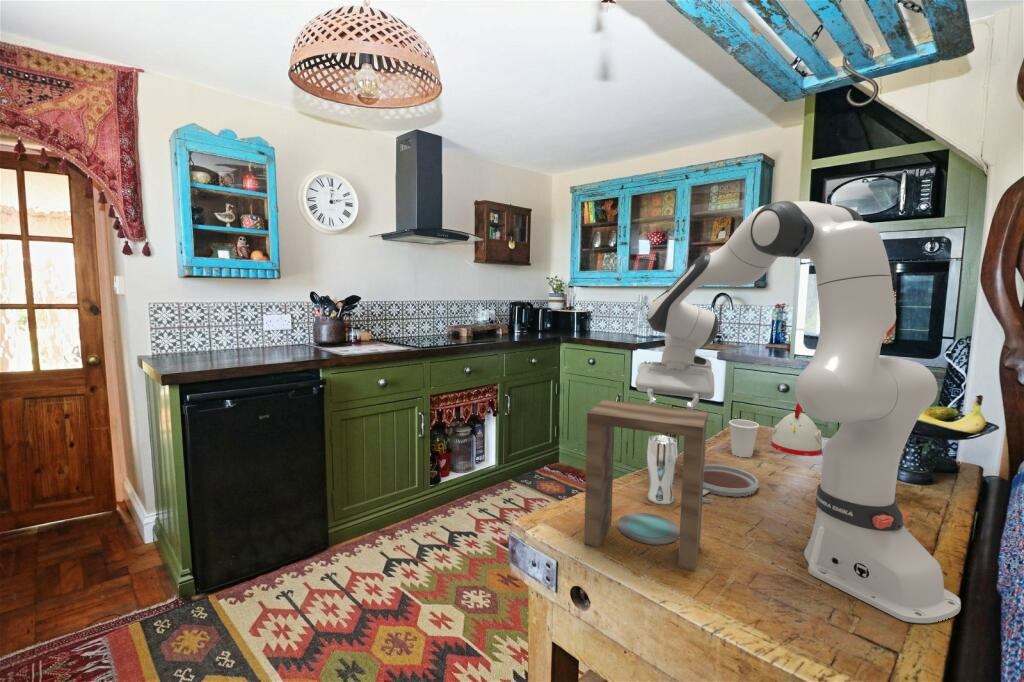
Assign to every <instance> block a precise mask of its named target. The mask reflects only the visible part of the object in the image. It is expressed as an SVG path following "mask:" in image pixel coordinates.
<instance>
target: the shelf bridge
mask: <svg viewBox="0 0 1024 682" xmlns="http://www.w3.org/2000/svg"><path fill="white" fill-rule="evenodd" d="M708 412H709V411H708V410H707V411H706V410H699V409H693V410H691V409H687V408H680V407H671V406H661V405H656V406H654V405H649V404H646V403H644V404H643V403H637V402H635V403H634V402H626V401H616V400H607V399H603V400H601V401H600V402H599V403H598V404H597V405H595V406H594V407H592V409H590V410H589V411H588V412H586V414H587V415H586V445H585V446H586V452H585V454H586V456H585V488H584V489H585V491H584V492H585V493H584V494H585V495H584V497H585V498H584V534H583V535H584V536H583V538H584V539H583V544H584V545H586V544H587V545H586V546H590V547H595V548H600V546H601V545H602V542H603V541H604V539H605V537H606V535H607V533H608V532H609V530H610V528H611V526H612V522H613V521H612V518H613V517H612V515H613V511H612V510H613V482H614V455H615V454H614V451H615V450H614V449H615V448H614V447H615V428H621V429H629V430H634V431H636V430H637V431H643V432H650V433H660V434H666V435H674V436H681V437H683V438H684V439H683V457H682V459H683V460H682V461H683V462H682V478H681V479H682V480H681V482H682V483H681V491H682V492H681V498H680V521H679V524H680V525H679V526H678V525H677V523H675V522H674V521H672V520H670V519H669V518H666V517H665V516H664V517H663V516H661V515H658V514H654V513H648V512H634V513H628V514H626V515H625V514H624V515H622V516H621V517H620V518H619V519H618V520H617V523H616V526H617V529H618V532H620V533H621V535H623V536H624V537H626V538H628V539H629V538H630V539H629V540H631V539H632V540H631V541H634V542H636V541H637V543H640V542H641V544H644V543H645V545H650V544H652V546H660V545H659V544H665V545H669V544H668V543H670V544H672V543H671V542H673V543H675V542H676V540H677V541H678V540H679V541H678V558H677V559H678V560H677V561H678V562H677V564H678V565H677V568H678V569H679V568H680V569H684V570H687V571H692V572H696V570H697V563H698V560H699V559H698V558H699V554H698V553H699V552H700V548H701V535H702V534H701V533H702V517H703V516H702V514H703V502H702V500H703V499H704V498H703V496H704V495H703V481H704V465H705V459H706V443H707V440H706V439H707V424H708V415H709V413H708ZM679 537H680V538H679ZM674 541H675V542H674Z"/></svg>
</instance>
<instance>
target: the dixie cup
mask: <svg viewBox="0 0 1024 682" xmlns="http://www.w3.org/2000/svg"><path fill="white" fill-rule="evenodd" d="M728 424H729V432H730V446H731V447H730V449H731V454H732V456H734V455H736V456H735V457H737V456H739V457H738V458H742V457H750V458H752V457H753V453H754V448H755V444H756V440H757V439H756V438H757V435H758V430H759V427H760V425H759V423H757V422H755V421H753V420H748V419H742V418H741V419H739V418H738V419H735V418H734V419H731V420H729V421H728ZM751 456H752V457H751Z"/></svg>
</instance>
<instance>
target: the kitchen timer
mask: <svg viewBox="0 0 1024 682" xmlns="http://www.w3.org/2000/svg"><path fill="white" fill-rule="evenodd" d="M803 411H804V410H803V409H802V408H801V406H800V405H799V403H798V402H797V403H796V406H795V409H794V412H790V413H789V414H787V415H785V416H784V417H783V418H782V419H781V420H780V421H779V422H778V423H777V424H774V429H773V431H772V438H771V447H772V446H773V447H774V448H773V447H772V448H773V449H775V448H776V449H775V450H777V451H779V450H780V451H779V452H782V453H786V454H788V455H789V454H790V455H794V456H803V457H816V456H819V455H822V454H823V446H822V445H823V443H822V442H823V439H822V433H821V432H822V431H821V429H818V427H817V425H816V424H815V422H814V421H813V420H812V419H811V418H810V416H809V415H808V414H806V413H803Z"/></svg>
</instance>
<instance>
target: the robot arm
mask: <svg viewBox="0 0 1024 682" xmlns="http://www.w3.org/2000/svg"><path fill="white" fill-rule="evenodd" d="M880 233H881V232H880V230H879V229H878V228H877V227H876V226H875V225H874V224H872V223H870V222H868V221H864V219H863V217H862V215H861V214H860V213H859V212H858V211H856V210H854V209H853V208H850V207H849V206H845V205H842V204H834V205H833V204H828V203H821V202H818V201H811V200H809V201H806V200H805V201H804V200H803V201H802V200H801V201H799V200H798V201H790V200H781V201H775V202H771V203H768V204H765V205H761V206H759V207H757V208H756V209H754V210H753V211H752V212H751V213H750V214H749V215H748V216H747V217H746V218H745V219H744V220H743V221H742V222H741V223H740V224H739V226H738V227H737V228H736V229H735V230H734V232H732V234H731V236H730V237H729V238H728V240H727V241H726V242H725V244H723V245H722V246H721V247H719V248H718V249H716V250H714V251H712V252H710V253H705V254H702V255H700V256H699V257H697V258H696V259H695V260H694V261H693V262H692V263H691V264H690V265H689V266H688V267H687V268H686V269H685V270H684V271H682V273H681V274H680V275H679V276H678V278H677V279H676V280H674V281H673V283H672V284H671V285H670V286H669V287H668V288H666V290H665V291H664V292H663V293H661V294H660V295H659V296H658V297H656V298H655V299H654V300H653V302H652V303H651V305H650V307H649V309H648V311H647V315H646V320H647V322H648V324H649V326H650V327H651V329H652V330H653V331H654V332H659V333H663V334H665V338H664V344H665V346H664V348H663V351H662V355H661V360H660V361H661V362H660V361H650V360H649V361H648V360H645V361H643V362H641V363H639V364H638V366H637V375H636V377H635V382H634V383H635V388H636V390H637V391H638V392H645V393H647V396H648V398H649V404H648V405H654V406H657V405H656V404H657V398H656V397H653V396H654V394H660V395H669V396H679V397H686V398H692V400H691V401H687V402H686V403H687V404H686V409H691V410H694V406H695V405H697V404H698V403H699V402H700V399H703V400H713V398H714V397H715V376H714V372H713V371H712V370H713V368H712V362H711V361H712V360H710V359H708V358H705V357H702V356H699V355H696V352H697V350H700V349H703V348H705V347H707V346H708V345H710V344H712V343H713V342H714V340H715V339H716V338H717V336H718V331H719V328H720V327H719V325H720V324H719V323H720V322H719V319H718V316H717V314H716V313H715V312H713V311H711V310H708V309H707V308H704V307H702V306H697V305H695V304H691V303H689V302H687V301H684V300H685V299H686V298H687V297H688V296H689V295H690V294H691V293H692V292H693V291H694V290H695V289H697V288H699V287H704V286H728V287H741V286H742V287H743V286H748V285H751V284H753V283H755V282H757V281H758V280H760V279H761V278H762V277H763V276H765V274H766V273H767V272H768V270H769V269H770V268H771V267H772V265H773V264H774V263H775V261H776V260H777V259H778V258H781V257H783V258H784V257H785V258H797V259H800V260H810V261H811V263H813V266H814V269H815V278H816V290H817V298H818V299H817V300H818V309H819V311H818V312H819V333H818V340H817V342H816V343H817V345H816V348H815V350H814V353H813V355H812V358H811V360H810V362H809V363H808V365H807V366H806V367H805V368H804V369H803V370H802V371H801V372H800V374H799V375H798V377H797V378H796V381H795V387H794V388H795V389H794V391H795V397H796V401H797V403H799V405H800V406H801V408H802V409H803V410H802V411H804V413H805V414H806V415H807V416H808V417H811V418H814V419H815V420H821V421H824V422H825V421H826V422H829V423H830V422H831V423H840V424H841V425H840V426H839V428H838V429H837V431H836V432H835V434H834V435H833V436H831V437H830V438H829V439H828V441H827V442H825V444H824V446H823V448H822V461H821V471H820V472H821V473H820V480H819V481H820V482H819V484H818V485H817V487H816V488H817V489H816V496H815V504H816V514H815V520H814V523H813V529H812V530H811V535H810V538H809V540H808V543H807V546H806V547H805V549H804V551H803V556H804V558H805V560H806V561H807V564H808V566H807V571H808V572H807V573H809V574H810V575H811V576H812V577H814V578H816V579H819V580H820V581H823V582H824V583H827V584H829V585H830V586H833V587H834V588H837V589H838V590H841V591H843V592H844V593H847V594H849V595H850V596H852V597H854V598H856V599H859V600H860V601H863V602H864V603H867V604H869V605H871V606H873V607H874V608H876V609H878V610H880V611H881V612H884V613H887V614H888V615H890V616H892V617H894V618H896V619H898V620H900V621H903V622H907V623H915V624H933V623H934V624H935V623H938V621H939V622H942V620H943V621H946V620H949V619H951V618H953V617H955V616H956V615H958V614H959V613H960V612H961V608H962V606H961V605H962V602H961V598H960V597H959V596H957V595H956V594H954V593H953V592H951V591H950V590H947V589H946V588H945V584H944V576H943V570H942V567H941V564H940V563H939V561H937V559H936V558H935V557H933V555H931V554H930V552H929V551H928V550H927V549H926V548H925V547H924V546H923V545H922V544H921V543H920V542H919V541H918V539H916V538H915V536H914V535H912V533H910V531H909V530H908V529H907V528H906V527H905V525H904V524H905V523H904V520H907V519H909V518H911V516H909V515H911V513H912V512H911V511H905V512H901V510H900V508H899V505H898V503H897V500H896V499H895V496H896V486H897V481H898V473H899V465H900V461H901V456H902V453H903V451H904V449H905V446H906V443H907V442H908V440H909V437H910V435H911V433H912V431H913V429H914V427H915V425H916V423H917V422H918V419H919V418H920V417H921V415H922V414H924V412H925V411H926V410H927V409H928V408H929V407H930V406H932V405H933V403H935V401H936V399H937V395H938V391H939V389H938V387H939V386H938V383H937V379H936V377H935V375H934V374H933V372H931V370H930V369H929V368H928V367H926V365H923V364H922V363H920V362H918V361H917V362H916V361H913V360H911V359H910V360H909V359H904V358H900V357H893V356H890V357H889V356H888V357H885V356H884V357H880V355H881V347H882V346H883V345H882V344H883V340H884V338H885V336H886V334H887V332H889V331H890V329H892V328H893V326H894V325H895V324H896V320H897V314H896V313H897V311H896V304H895V297H894V295H895V294H894V289H893V288H894V287H893V280H892V278H893V277H892V273H891V267H890V262H889V257H888V254H887V251H886V247H885V244H884V241H883V239H882V236H881V234H880ZM948 618H949V619H948ZM945 619H946V620H945Z"/></svg>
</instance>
